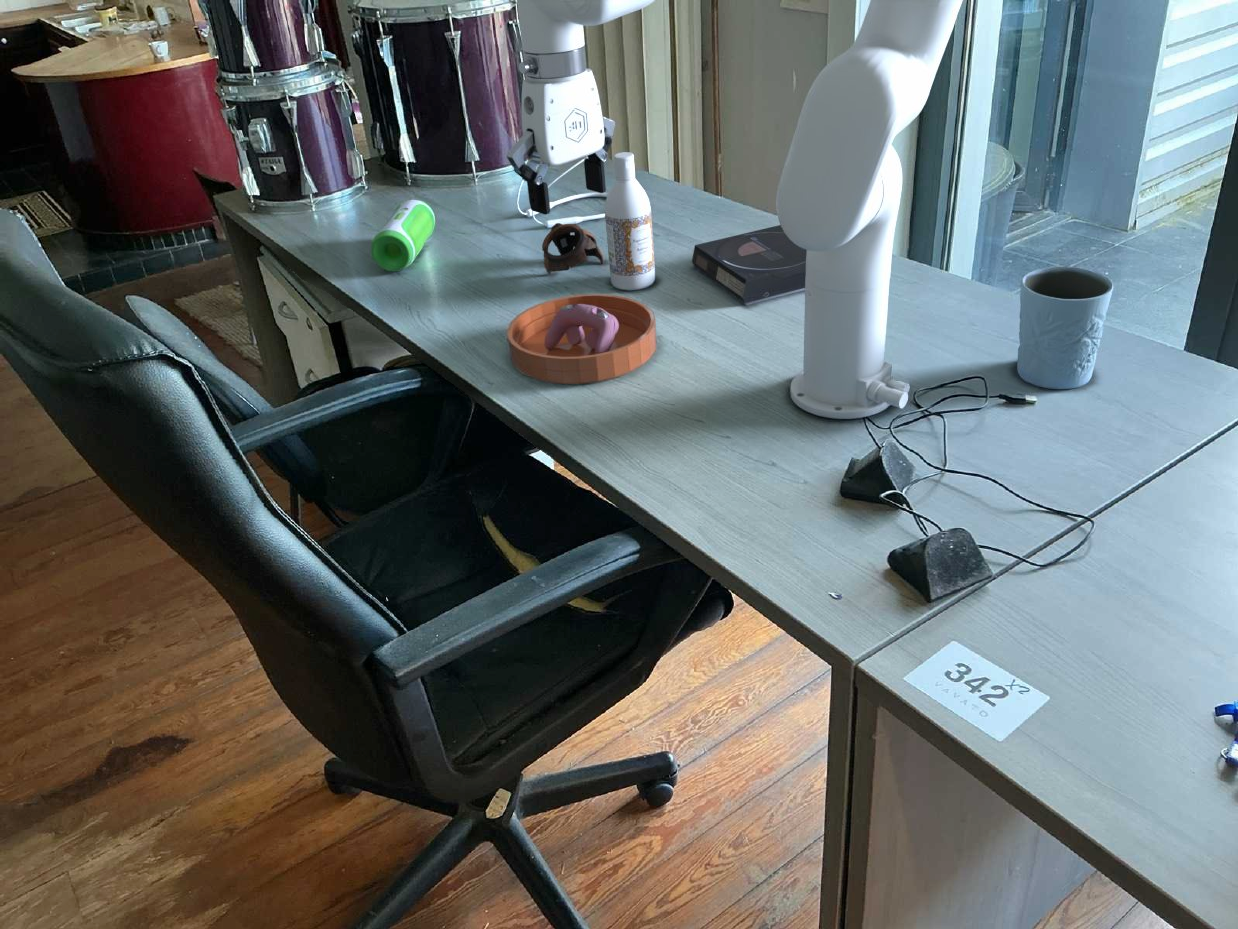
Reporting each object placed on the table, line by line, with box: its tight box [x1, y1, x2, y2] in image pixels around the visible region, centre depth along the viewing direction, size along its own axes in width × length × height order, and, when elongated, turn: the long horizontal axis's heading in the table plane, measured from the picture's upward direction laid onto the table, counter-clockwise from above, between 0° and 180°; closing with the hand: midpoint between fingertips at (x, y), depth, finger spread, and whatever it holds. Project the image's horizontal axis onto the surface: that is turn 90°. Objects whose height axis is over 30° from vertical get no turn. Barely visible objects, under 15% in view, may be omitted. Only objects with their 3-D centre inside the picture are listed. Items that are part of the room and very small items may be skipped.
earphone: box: [516, 156, 608, 229], centre depth 190 cm, size 14×17×18 cm
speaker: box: [371, 199, 436, 273], centre depth 178 cm, size 18×7×8 cm, turn 175°
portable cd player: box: [691, 224, 807, 306], centre depth 160 cm, size 16×17×4 cm
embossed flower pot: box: [1016, 266, 1114, 390], centre depth 125 cm, size 10×10×12 cm
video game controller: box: [545, 304, 619, 354], centre depth 142 cm, size 10×5×7 cm, turn 58°
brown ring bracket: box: [541, 223, 605, 276], centre depth 169 cm, size 12×10×8 cm
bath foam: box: [604, 151, 656, 291], centre depth 157 cm, size 7×7×20 cm
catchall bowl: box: [506, 293, 658, 385], centre depth 143 cm, size 20×20×4 cm
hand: (569, 201), depth 135 cm, fingers open, 9 cm apart
